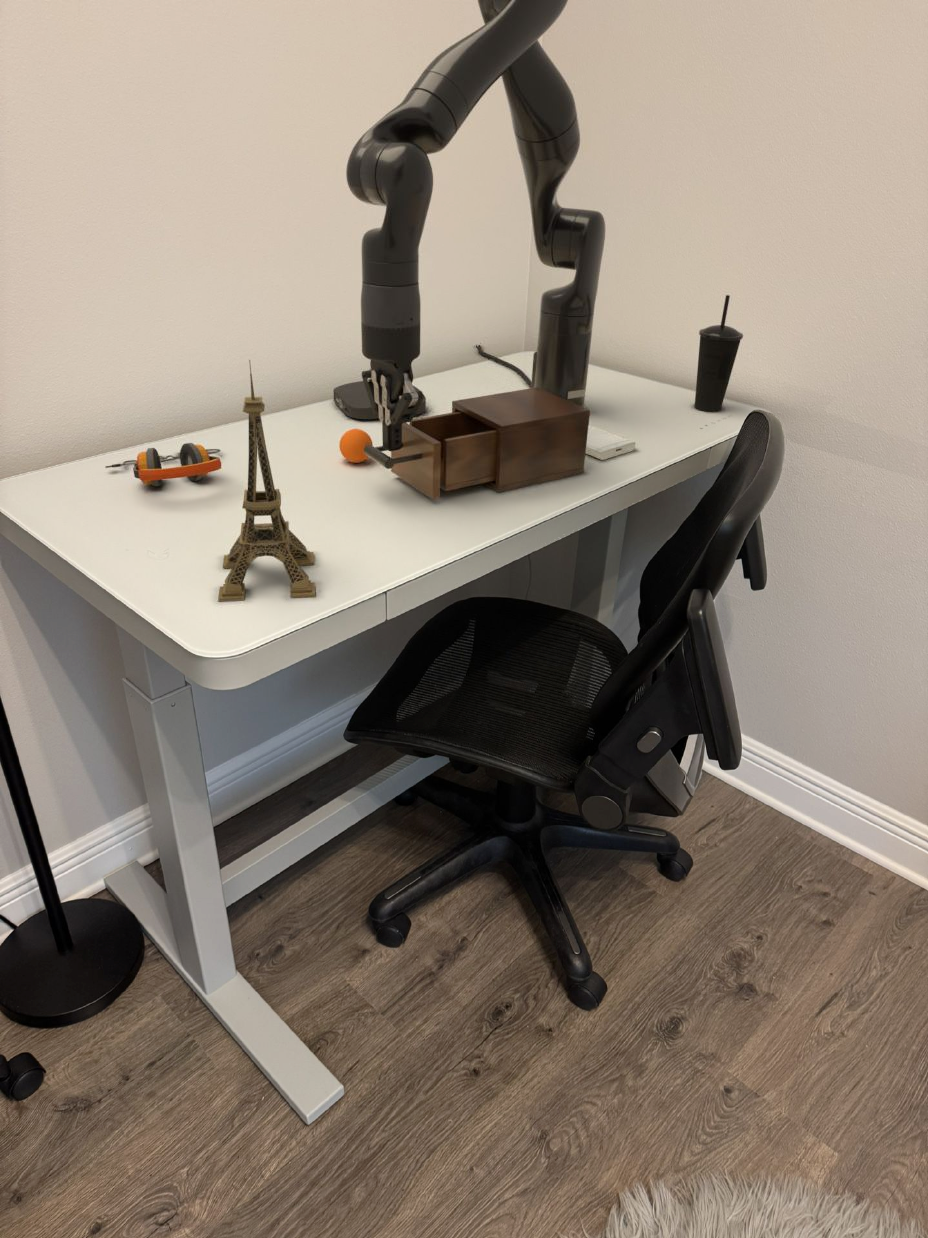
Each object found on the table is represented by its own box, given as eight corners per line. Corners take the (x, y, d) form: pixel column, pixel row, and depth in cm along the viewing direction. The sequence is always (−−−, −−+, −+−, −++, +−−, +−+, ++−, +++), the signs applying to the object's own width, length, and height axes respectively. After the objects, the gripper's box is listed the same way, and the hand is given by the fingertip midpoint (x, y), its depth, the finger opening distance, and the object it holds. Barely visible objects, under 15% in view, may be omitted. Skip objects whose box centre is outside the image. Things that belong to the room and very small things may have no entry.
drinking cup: (734, 406, 167) (756, 295, 157) (721, 416, 161) (742, 301, 151) (695, 399, 170) (713, 289, 160) (680, 408, 165) (699, 295, 155)
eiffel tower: (313, 554, 109) (301, 346, 96) (315, 596, 100) (302, 373, 87) (224, 557, 107) (200, 346, 94) (218, 601, 98) (190, 374, 85)
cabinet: (498, 492, 128) (502, 426, 123) (450, 463, 137) (452, 400, 132) (583, 473, 135) (590, 409, 130) (532, 447, 144) (537, 387, 139)
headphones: (213, 430, 138) (245, 442, 121) (219, 465, 139) (251, 481, 122) (98, 445, 131) (115, 460, 114) (105, 481, 132) (123, 501, 115)
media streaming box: (432, 415, 156) (432, 398, 155) (351, 423, 151) (351, 405, 150) (404, 391, 168) (404, 375, 166) (328, 398, 163) (327, 381, 161)
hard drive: (545, 429, 147) (602, 450, 139) (579, 420, 152) (636, 440, 144) (544, 439, 148) (601, 460, 140) (578, 429, 153) (634, 450, 145)
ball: (334, 459, 137) (333, 427, 134) (363, 453, 139) (362, 422, 137) (349, 469, 133) (348, 437, 131) (378, 463, 136) (378, 432, 133)
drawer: (395, 507, 119) (395, 451, 115) (355, 478, 128) (353, 425, 124) (518, 480, 129) (522, 427, 125) (473, 454, 138) (475, 404, 134)
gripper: (443, 326, 110) (441, 459, 119) (391, 305, 120) (392, 430, 129) (390, 333, 107) (391, 469, 116) (340, 310, 116) (345, 438, 125)
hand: (392, 448), depth 122 cm, fingers closed
